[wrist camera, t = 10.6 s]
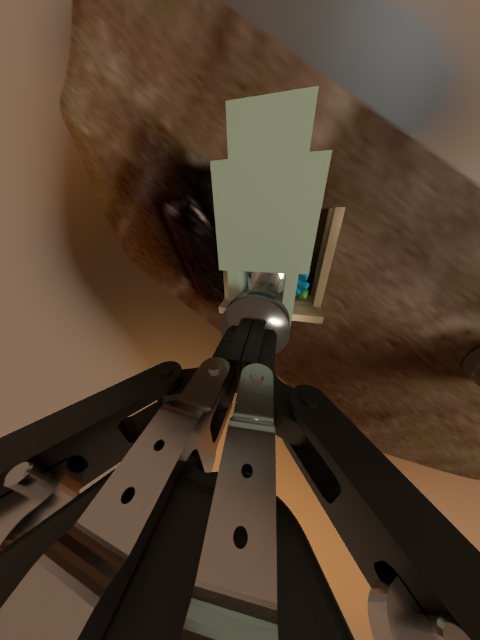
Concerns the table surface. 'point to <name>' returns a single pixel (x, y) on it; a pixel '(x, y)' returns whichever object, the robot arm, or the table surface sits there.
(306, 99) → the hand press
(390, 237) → the table surface
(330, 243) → the tan open box
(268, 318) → the ram
